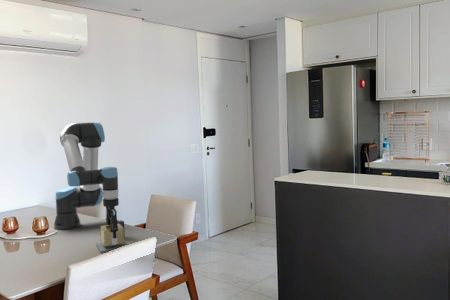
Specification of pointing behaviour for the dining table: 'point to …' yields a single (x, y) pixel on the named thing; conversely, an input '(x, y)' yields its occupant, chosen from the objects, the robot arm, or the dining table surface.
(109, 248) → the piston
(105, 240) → the olive slotted box
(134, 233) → the dining table surface
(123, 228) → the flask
